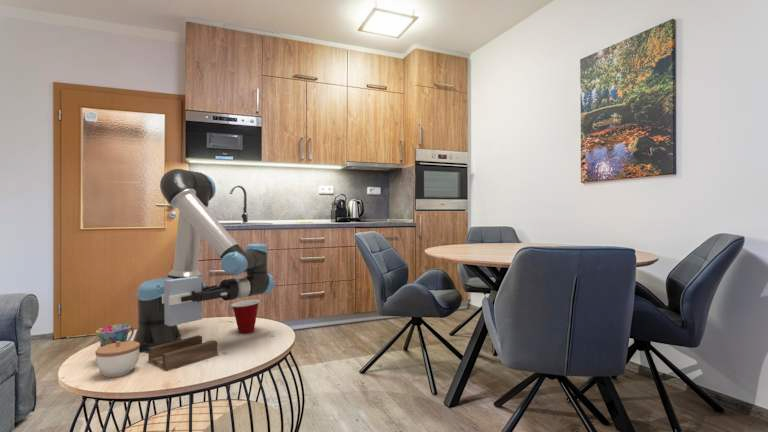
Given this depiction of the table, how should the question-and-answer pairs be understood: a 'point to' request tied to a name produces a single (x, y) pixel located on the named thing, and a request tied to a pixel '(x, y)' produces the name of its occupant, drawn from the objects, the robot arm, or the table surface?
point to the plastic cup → (245, 315)
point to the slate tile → (183, 310)
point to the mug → (114, 334)
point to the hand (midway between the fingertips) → (166, 299)
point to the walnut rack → (182, 352)
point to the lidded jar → (117, 358)
